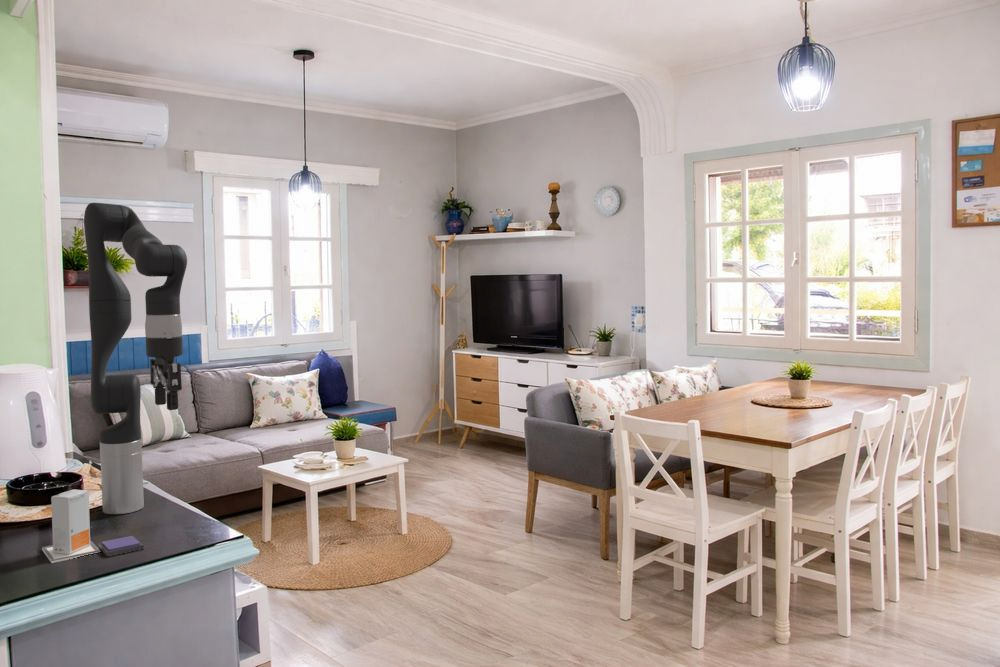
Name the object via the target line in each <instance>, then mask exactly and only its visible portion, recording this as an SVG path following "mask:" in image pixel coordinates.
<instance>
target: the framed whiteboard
mask: <svg viewBox="0 0 1000 667" xmlns="http://www.w3.org/2000/svg"><path fill="white" fill-rule="evenodd" d="M41 550H42V552H43V553H44V555H45V556H46V558H47V559H48V561H49V562H50V563H51V564H54V563H61V562H64V561H69V559H70V560H74V559H73V558H75V559H78V558H77V557H80V556H84V555H88V554H93V553H98V552H101V550H100V549H99V546H97V545H96V544H95V543H94V542H93V541H92V540H91V539H90V546H88V547H85V548H83V549H80V550H78V551H76V552H73V553H71V554H59V553H53V544H51V545H47V546H42V547H41ZM84 557H85V556H84ZM80 558H81V557H80Z"/></svg>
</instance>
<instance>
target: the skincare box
mask: <svg viewBox="0 0 1000 667" xmlns="http://www.w3.org/2000/svg"><path fill="white" fill-rule="evenodd" d="M89 492H90V491H89V490H86V489H85V490H84V489H83V490H82V489H74V488H73V489H71V490H67V491H64V492H60V493H58V494H56V495H52V496H51V498H50V502H51V503H50V504H51V523H52V524H51V527H52V545H53V553H59V554H71V553H73V552H76V551H78V550H80V549H83V548H85V547H88V546H90V540H91V527H90V526H91V525H90V518H91V517H90V494H89Z"/></svg>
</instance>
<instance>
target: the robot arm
mask: <svg viewBox="0 0 1000 667" xmlns="http://www.w3.org/2000/svg"><path fill="white" fill-rule="evenodd" d="M83 214H84V215H83V216H84V217H83V227H84V228H83V229H84V237H85V249H86V254H87V262H88V263H87V264H88V267H87V268H88V310H89V311H88V313H89V314H88V315H89V328H90V341H91V342H90V343H91V365H90V366H91V369H90V370H91V371H90V402H91V403H90V404H91V409H92V411H93V412H94V413H95V414H97V415H107V414H122V413H123V414H124V413H126V415H125V417H124V418H122V419H121V420H120V421H118V422H116V423H114V424H112V425H109V426H107V427H104V428H103V429H101V430H100V431H99V453H100V454H99V456H100V457H99V458H100V475H101V476H100V479H101V480H100V481H101V482H100V483H101V502H102V503H101V504H102V512H103V513H104V514H107V515H122V514H129V513H135V512H137V511H139V510H142V509H143V508H144V507H145V504H144V503H145V500H144V496H145V495H144V476H143V475H144V474H143V472H144V471H143V450H142V449H143V448H142V447H143V446H142V429H141V427H142V426H141V395H142V394H141V393H142V392H141V391H142V390H141V381H140V379H139V377H138V376H137V375H135V374H114V375H112V374H111V375H106V369H107V366H108V364H109V361H110V358H111V356H112V355H113V353H114V351H115V349H116V347H117V346H118V344H119V343H120V341H121V340H122V339H123V337H124V336H125V334H126V332H127V330H128V329H129V327H130V325H131V324H132V297H131V292H130V291H129V288H128V287H127V285H126V284H125V282H124V281H123V279H122V277H120V275H119V274H118V273H117V271H116V270H115V268H114V267H113V266H112V264H111V261H110V260H109V257H108V255H107V250H106V246H105V242H107V243H108V242H109V243H121V244H122V247H123V250H124V251H125V253H126V254H127V255H128V256H130V258H132V259H133V260H134V262H135V268H136V271H137V272H138V273H139V274H140V275H142V276H145V277H149V278H150V277H151V278H152V277H153V278H155V277H166V279H165V282H164V283H163V285H160V286H156V287H151V288H149V289H147V290H146V291H145V298H144V299H145V314H146V315H145V324H144V328H145V329H144V330H145V332H144V334H145V355H146V356H147V357H148V358H150V360H149V363H150V364H149V365H150V366H149V367H150V370H149V371H150V385H152V387H153V389H154V403H155V405H157V406H163V405H166V409H167V410H168V411H174V410H175V411H176V410H178V409H179V392H180V391H182V390H183V386H182V370H181V368H182V367H181V363H180V362H176V361H175V358H176V357H180V356H182V355H183V353H184V352H183V351H184V350H183V348H184V347H183V346H184V345H183V323H182V319H181V301H180V300H181V299H180V298H181V290H182V286H183V281H184V277H185V274H186V270H187V266H188V257H187V254H186V251H185V250H184V248H182V247H181V246H180V245H177V244H163V242H162V241H161V239H159V238H158V237H157V236H155V235H154V234H153V233H152V232H150V231H148V230H147V228H146V227H145V225H144V224H143V222H142V221H141V218H140V217H139V216H138V215H137V214H136V213H135V211H134V210H133V209H132V208H130V207H129V206H126V205H122V204H115V203H114V204H113V203H103V202H90V203H88V205H86V208H85V210H84V213H83Z"/></svg>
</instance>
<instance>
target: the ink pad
mask: <svg viewBox="0 0 1000 667" xmlns="http://www.w3.org/2000/svg"><path fill="white" fill-rule="evenodd" d="M99 548H100V549H101V550H102V551H103V552H104V553H105V554H106V555H107V556H110V555H115V554H120V555H122V554H121V553H125V552H129V551H134V550H139V549H144V544H143V543H142V542H141V541H140V540H138V539H137V538H136V537H135V536H133V535H129V536H125V537H124V536H123V537H119V538H115V539H109V540H104V541H101V542H100V543H98V549H99ZM100 549H99V550H100ZM101 550H100V551H101ZM102 551H101V552H102ZM139 551H140V550H139ZM103 552H102V553H103ZM134 552H135V551H134ZM104 553H103V554H104ZM105 554H104V555H105ZM125 554H126V553H125ZM106 555H105V556H106ZM107 556H106V557H107Z"/></svg>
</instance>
